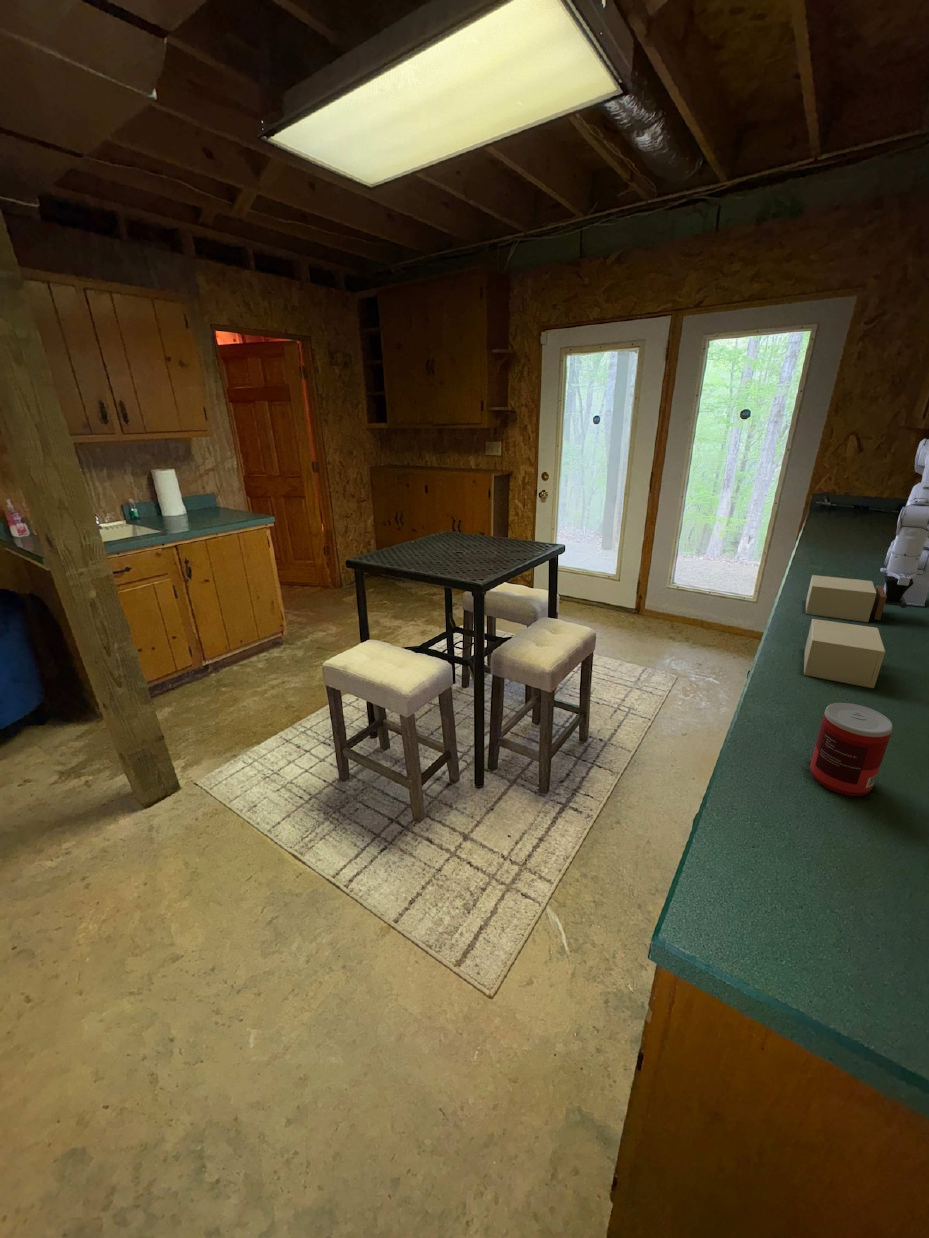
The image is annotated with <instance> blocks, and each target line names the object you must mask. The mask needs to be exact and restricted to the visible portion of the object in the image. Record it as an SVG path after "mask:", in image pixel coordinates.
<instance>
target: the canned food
mask: <svg viewBox="0 0 929 1238" xmlns="http://www.w3.org/2000/svg"><path fill="white" fill-rule="evenodd" d="M892 733H893V723H892V721H891V720H890V719H889V718H888V717H887V716H885V715H884V714H883V713H881V712H879V711H877V710H875V709H872V708H870V707H867V706H864V705H860V704H855V703H851V702H850V703H849V702H835V703H831V704H828V705H827V706H826V707H825V710H824V713H823V717H822V720H821V723H820V727H819V731H818V735H817V739H816V743H815V747H814V750H813V753H812V757H811V761H810V765H809V767H810V773H811V775H812V777H813V779H814V780H815V781H816V782H817V783H818V784H820V785H821V786H823V787H824V788H826V789H828V790H830V791H832V792H834V793H838V794H839V795H843V796H849V797H860V796H861V797H862V796H865V795H867V794H868V793H869V792H870V791H871V790H872V789H873V788H874V786H875V782H876V780H877V777H878V773H879V771H880V768H881V765H882V762H883V759H884V756H885V753H886V750H887V747H888V745H889V742H890V739H891V735H892Z"/></svg>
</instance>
